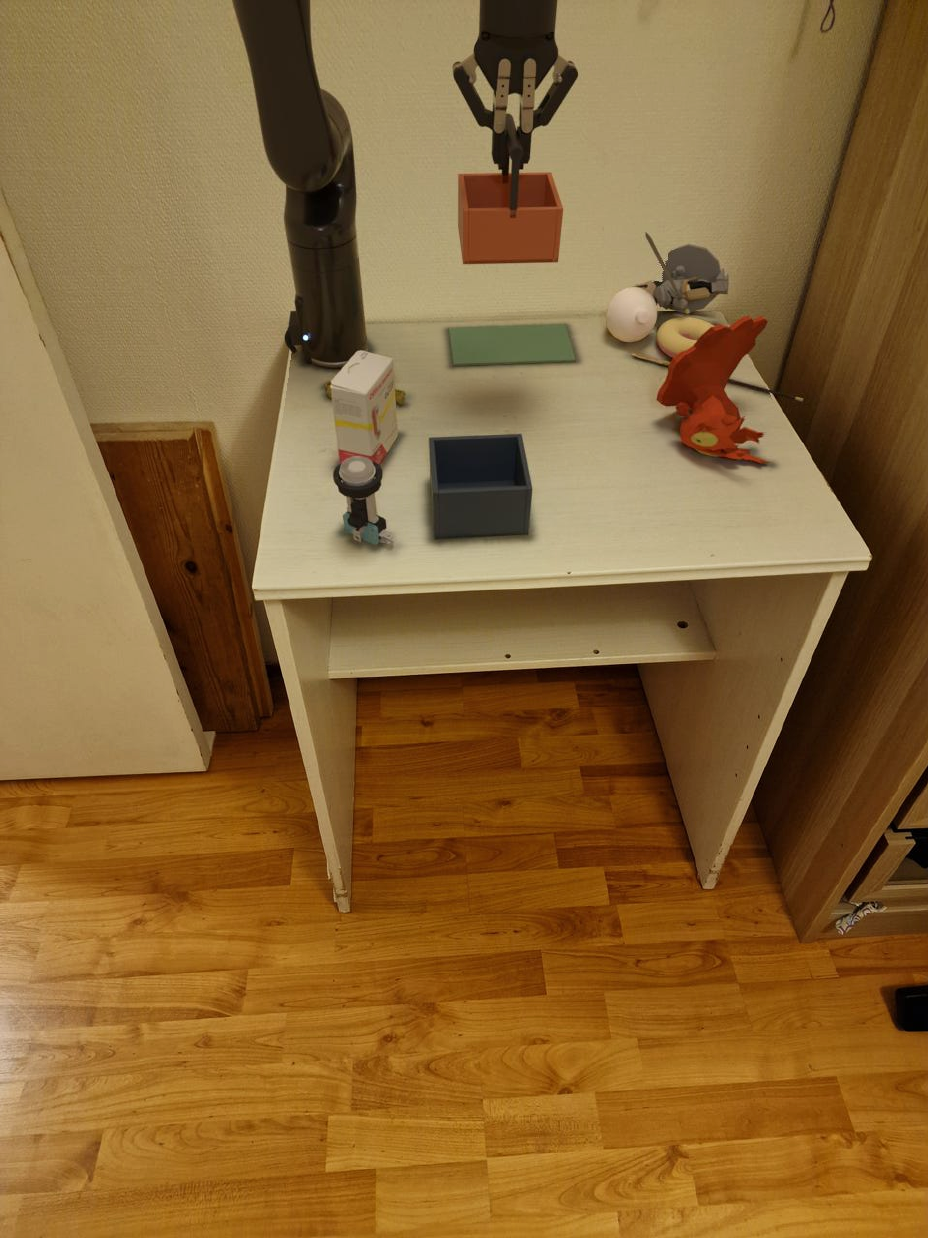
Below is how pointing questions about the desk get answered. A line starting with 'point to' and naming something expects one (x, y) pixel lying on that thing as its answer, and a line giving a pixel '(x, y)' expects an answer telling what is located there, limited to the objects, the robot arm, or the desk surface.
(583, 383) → the desk surface
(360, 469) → the push button
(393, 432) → the ink box
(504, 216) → the box
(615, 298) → the spinning top
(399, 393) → the key
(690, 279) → the toy
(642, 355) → the brush
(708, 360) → the toy
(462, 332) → the mat
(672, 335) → the donut
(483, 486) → the bottom basket
